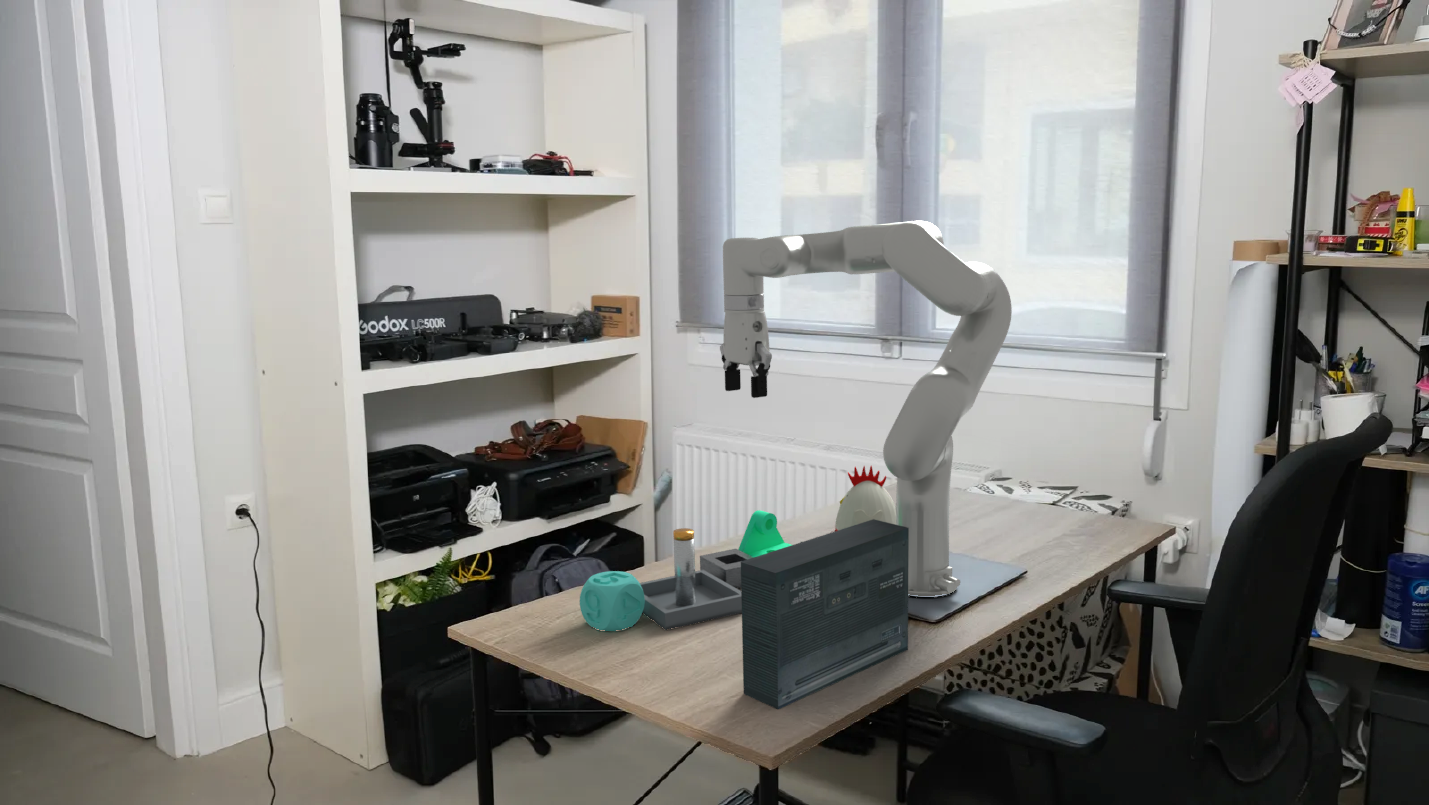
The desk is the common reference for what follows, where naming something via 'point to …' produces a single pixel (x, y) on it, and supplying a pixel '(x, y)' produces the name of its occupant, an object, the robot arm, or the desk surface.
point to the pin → (684, 567)
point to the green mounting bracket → (762, 535)
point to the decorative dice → (612, 600)
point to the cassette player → (823, 610)
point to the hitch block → (725, 565)
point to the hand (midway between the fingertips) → (745, 393)
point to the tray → (710, 604)
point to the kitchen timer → (865, 501)
